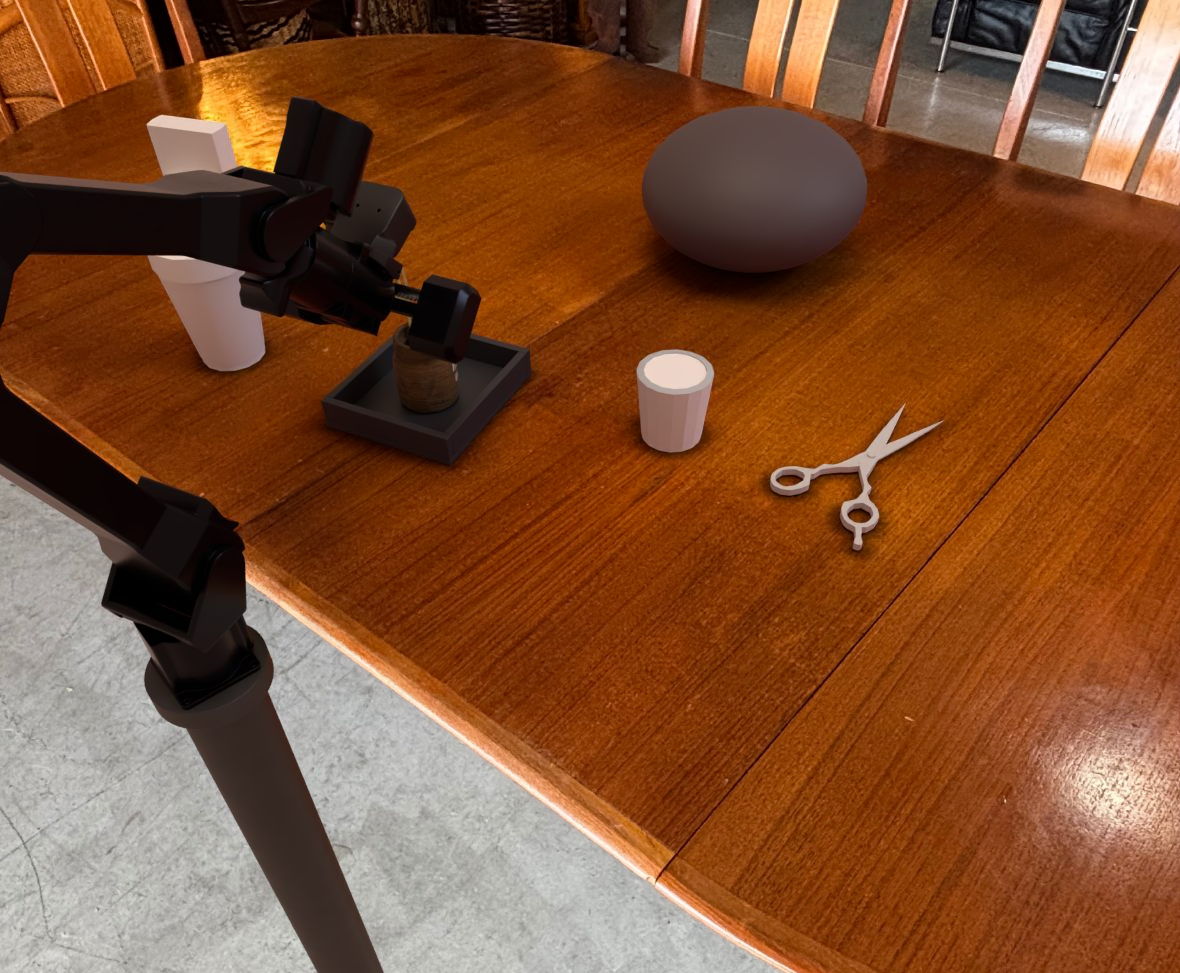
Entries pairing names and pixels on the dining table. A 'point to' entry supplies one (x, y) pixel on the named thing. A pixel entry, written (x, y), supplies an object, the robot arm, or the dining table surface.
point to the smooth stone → (754, 189)
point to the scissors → (857, 463)
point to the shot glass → (673, 398)
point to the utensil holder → (422, 374)
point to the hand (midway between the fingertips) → (417, 326)
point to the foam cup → (212, 311)
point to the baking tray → (440, 436)
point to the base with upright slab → (191, 145)
